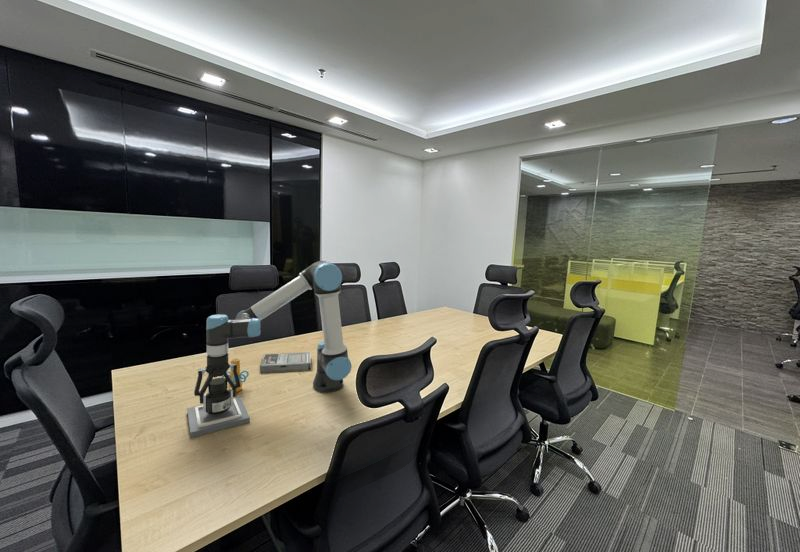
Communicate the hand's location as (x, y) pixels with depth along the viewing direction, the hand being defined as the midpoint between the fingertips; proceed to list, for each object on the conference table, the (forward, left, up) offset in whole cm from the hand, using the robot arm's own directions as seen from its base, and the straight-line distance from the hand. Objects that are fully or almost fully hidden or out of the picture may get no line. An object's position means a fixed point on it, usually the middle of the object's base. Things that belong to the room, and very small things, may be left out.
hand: (218, 407), depth 132 cm
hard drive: (-40, -42, -5) cm, 58 cm away
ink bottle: (0, 0, -1) cm, 1 cm away
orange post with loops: (-10, -23, -5) cm, 25 cm away
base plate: (0, 0, -4) cm, 4 cm away
